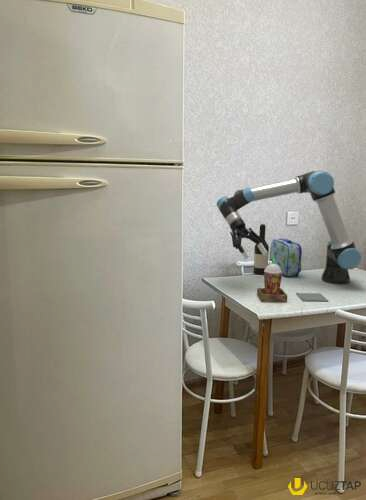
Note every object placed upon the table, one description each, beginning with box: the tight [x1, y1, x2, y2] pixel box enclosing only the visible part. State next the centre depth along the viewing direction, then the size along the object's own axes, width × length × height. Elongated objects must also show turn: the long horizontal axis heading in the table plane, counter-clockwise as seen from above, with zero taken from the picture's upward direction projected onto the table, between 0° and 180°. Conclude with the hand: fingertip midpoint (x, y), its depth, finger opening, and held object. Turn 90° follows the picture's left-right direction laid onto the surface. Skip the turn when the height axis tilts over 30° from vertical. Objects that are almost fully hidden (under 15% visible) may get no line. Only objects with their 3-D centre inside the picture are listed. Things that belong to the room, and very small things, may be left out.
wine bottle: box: [253, 223, 270, 276], centre depth 242 cm, size 8×8×30 cm
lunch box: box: [269, 238, 303, 277], centre depth 244 cm, size 26×11×21 cm, turn 12°
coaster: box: [295, 292, 329, 303], centre depth 196 cm, size 12×12×1 cm
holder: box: [256, 287, 288, 303], centre depth 194 cm, size 12×12×4 cm
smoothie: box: [263, 258, 283, 295], centre depth 192 cm, size 8×8×20 cm
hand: (256, 256), depth 199 cm, fingers open, 13 cm apart
